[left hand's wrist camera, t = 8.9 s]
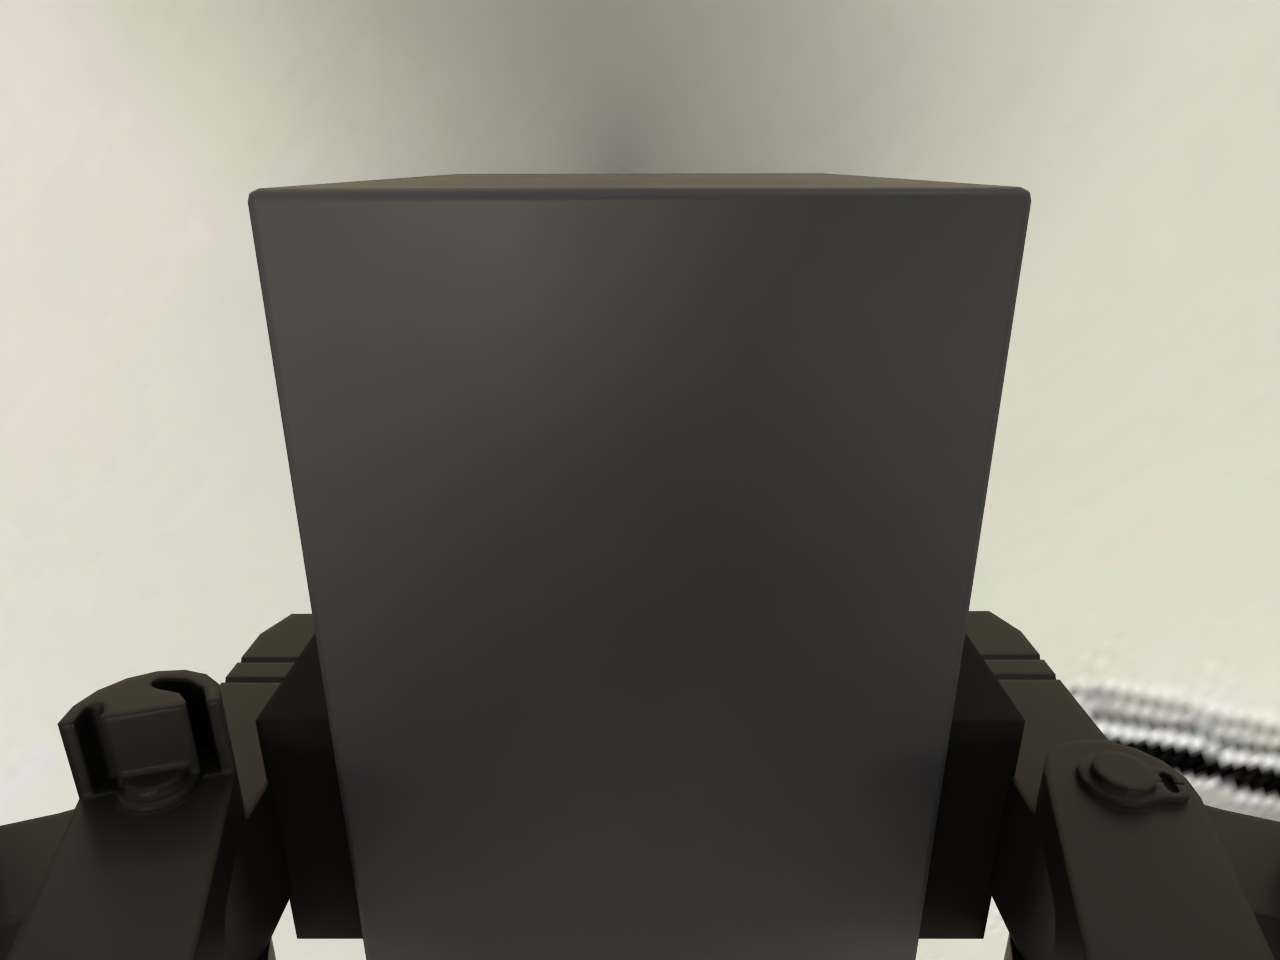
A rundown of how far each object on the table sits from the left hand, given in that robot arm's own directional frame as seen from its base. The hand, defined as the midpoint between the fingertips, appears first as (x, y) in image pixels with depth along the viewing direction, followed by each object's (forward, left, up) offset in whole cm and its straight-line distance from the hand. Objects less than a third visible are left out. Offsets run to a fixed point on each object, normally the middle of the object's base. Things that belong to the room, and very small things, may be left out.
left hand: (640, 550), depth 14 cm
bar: (+31, +7, -1) cm, 31 cm away
